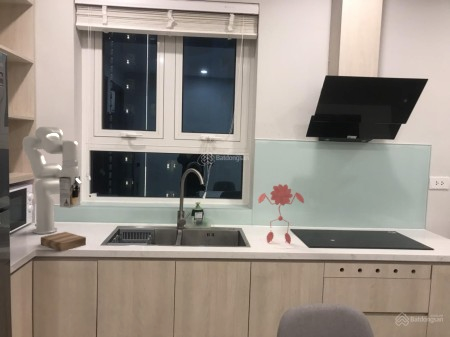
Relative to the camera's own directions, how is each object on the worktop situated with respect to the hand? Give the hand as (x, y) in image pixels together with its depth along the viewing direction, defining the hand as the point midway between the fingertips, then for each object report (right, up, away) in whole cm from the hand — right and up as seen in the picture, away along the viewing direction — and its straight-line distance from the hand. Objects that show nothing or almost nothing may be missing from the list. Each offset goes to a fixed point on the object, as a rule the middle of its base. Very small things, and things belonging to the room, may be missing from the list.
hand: (70, 196), depth 184 cm
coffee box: (0, -5, 0) cm, 5 cm away
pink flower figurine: (+114, -29, +12) cm, 118 cm away
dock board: (-2, -25, -3) cm, 25 cm away
